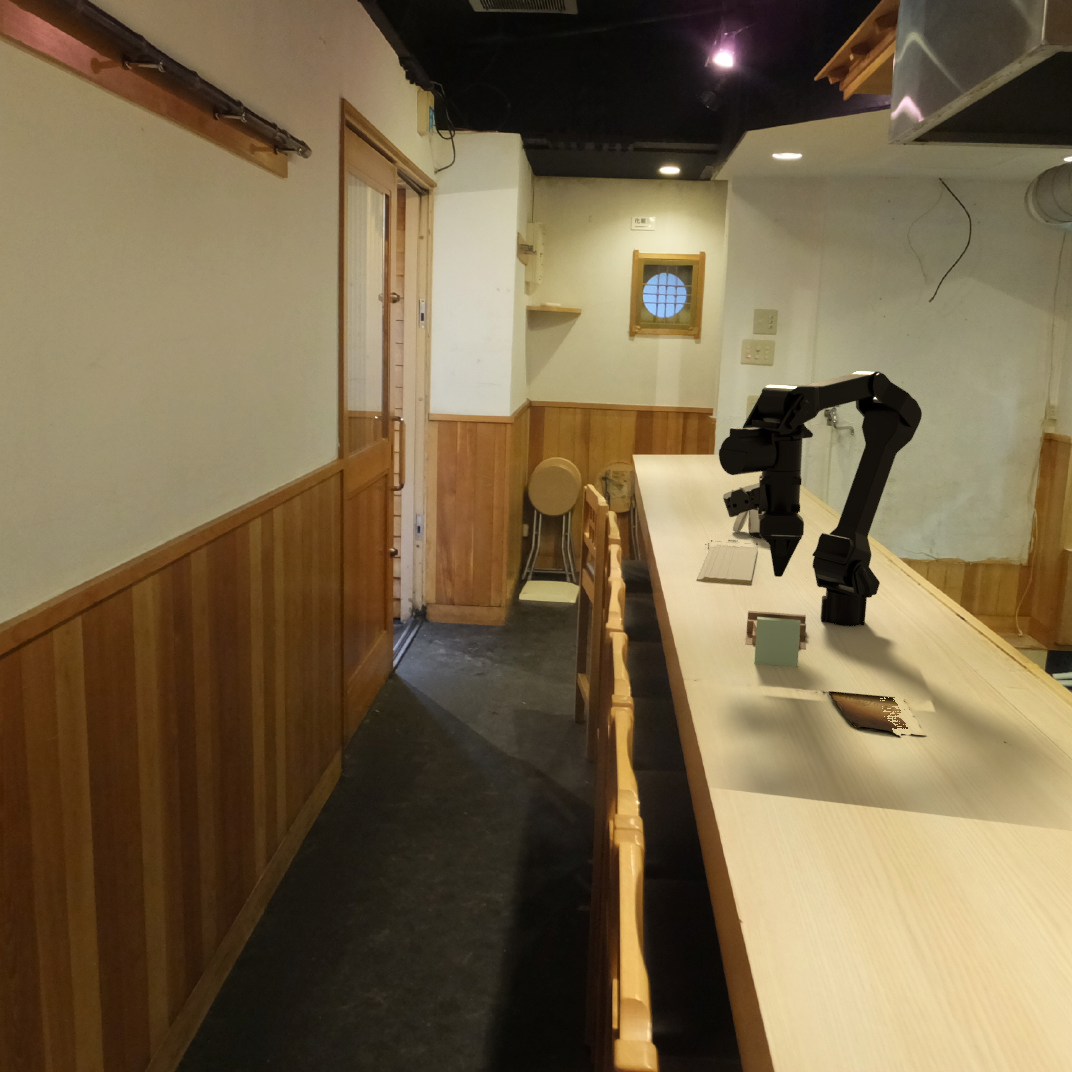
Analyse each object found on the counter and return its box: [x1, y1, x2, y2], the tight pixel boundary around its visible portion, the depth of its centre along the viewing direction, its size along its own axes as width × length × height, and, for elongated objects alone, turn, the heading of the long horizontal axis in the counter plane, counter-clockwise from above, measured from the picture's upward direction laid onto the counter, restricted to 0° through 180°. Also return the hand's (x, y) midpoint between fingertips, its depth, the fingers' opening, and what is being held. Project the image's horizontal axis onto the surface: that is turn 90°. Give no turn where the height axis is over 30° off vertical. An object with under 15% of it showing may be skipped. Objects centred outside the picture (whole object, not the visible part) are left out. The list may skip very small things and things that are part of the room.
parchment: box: [828, 690, 911, 733], centre depth 126 cm, size 25×10×1 cm, turn 171°
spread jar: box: [732, 508, 764, 539], centre depth 230 cm, size 12×11×12 cm
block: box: [754, 617, 801, 668], centre depth 135 cm, size 6×1×7 cm, turn 76°
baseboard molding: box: [696, 539, 758, 585], centre depth 200 cm, size 31×3×12 cm
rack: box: [744, 610, 807, 650], centre depth 148 cm, size 9×10×4 cm
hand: (777, 568), depth 146 cm, fingers open, 9 cm apart
